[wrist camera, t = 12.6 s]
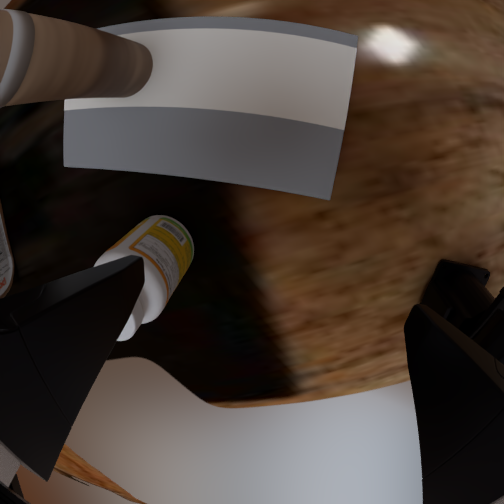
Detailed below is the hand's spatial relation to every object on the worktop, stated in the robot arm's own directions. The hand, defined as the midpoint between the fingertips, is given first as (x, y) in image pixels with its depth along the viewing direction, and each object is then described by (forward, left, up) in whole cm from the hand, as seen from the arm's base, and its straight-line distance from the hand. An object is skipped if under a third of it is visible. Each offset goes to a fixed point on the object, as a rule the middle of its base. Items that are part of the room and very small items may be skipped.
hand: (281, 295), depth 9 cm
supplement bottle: (+9, +6, -13) cm, 17 cm away
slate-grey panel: (+8, -6, -13) cm, 16 cm away
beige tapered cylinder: (+13, -8, -12) cm, 19 cm away
